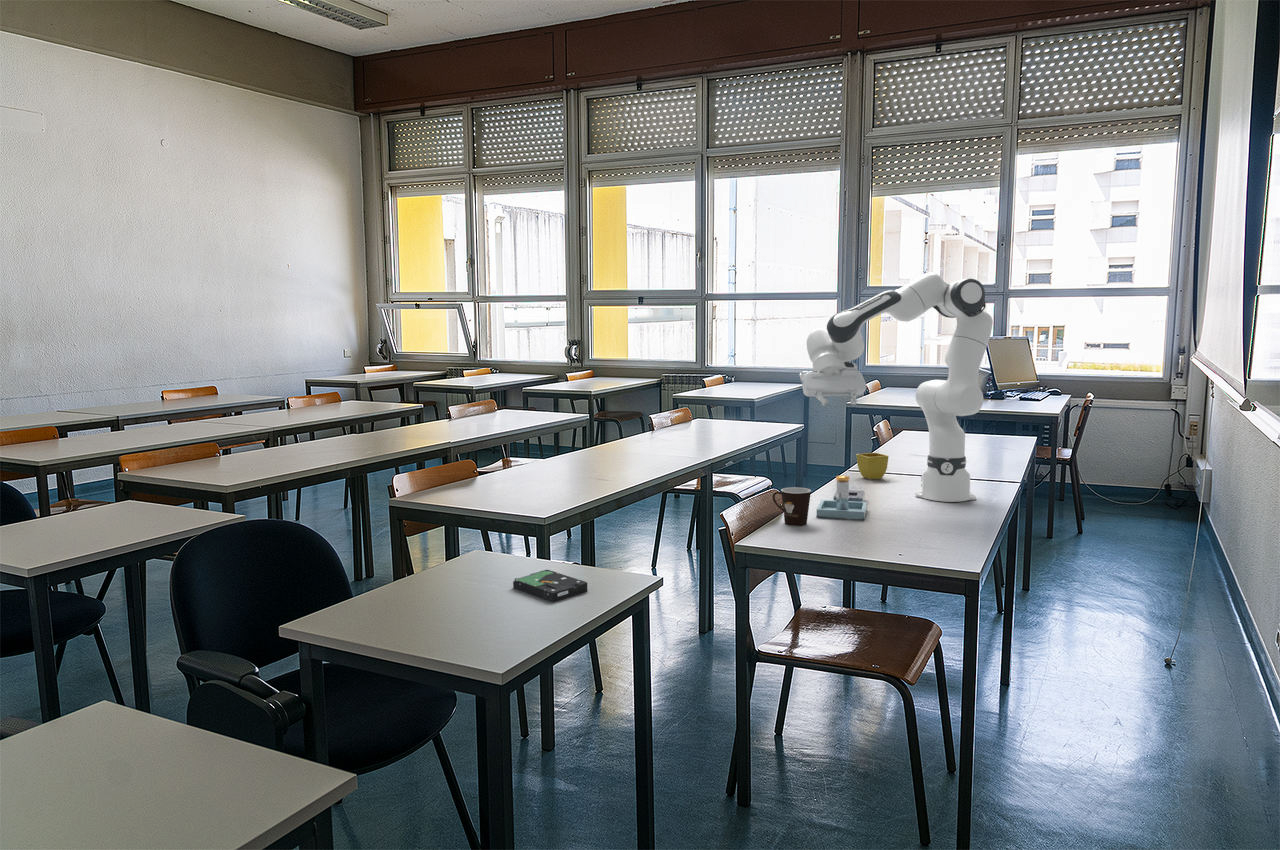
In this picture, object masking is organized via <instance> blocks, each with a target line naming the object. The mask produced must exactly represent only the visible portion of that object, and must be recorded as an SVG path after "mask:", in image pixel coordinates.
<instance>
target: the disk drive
mask: <svg viewBox="0 0 1280 850" xmlns="http://www.w3.org/2000/svg"><path fill="white" fill-rule="evenodd" d="M512 585H513V586H512V587H513V588H512V589H516V590H517V591H520V592H523V593H526V594H529V595H532V596H535V597H537V598H540V599H543V600H545V601H548V602H551V603H555V602H558V601H562V600H565V599H569V598H571V597H574V596H578V595H581V594H584V593H587V592H589V591H588V590H589V589H588V587H589V586H588V581H584V580H583V579H578V578H575V577H572V576H569V575H565V574H563V573H560V572H556V571H553V570H551V569H544V570H541V571H537V572H533V573H529V575H528V574H527V575H525V576H522V577H518V578H517V577H515V578H514V580H513V581H512Z"/></svg>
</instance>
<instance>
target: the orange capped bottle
mask: <svg viewBox="0 0 1280 850" xmlns="http://www.w3.org/2000/svg"><path fill="white" fill-rule="evenodd" d="M835 480H836V491H837V499H836V510H848V499H849V490H850V488H849V486H850V485H849V484H850V476H849V475H836V476H835Z"/></svg>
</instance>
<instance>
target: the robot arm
mask: <svg viewBox="0 0 1280 850" xmlns="http://www.w3.org/2000/svg"><path fill="white" fill-rule="evenodd" d="M986 305H987V304H986V291H985V287H984V286H983V284H982V282H980V281H979V280H977V279H975V278H971V277H970V278H969V277H967V278H966V277H965V278H961V279H958V280H956V281H953V282H951V283H947V282H945V280H944V279H943V278H942V277H941V276H940V275H939V274H937V273H936V272H927V273H925V274H922V275H920V276H918V277H916V278H914V279H912V280H911V281H909V282H907V283H906V284H904V285H903V286H901V287H899V288H897V289H895V290H893V289H890V290H885V291H882V292H881V293H878V294H876V295H875V296H872V297H871V298H869V299H867V300H865V301H863V302H861V303H859V304H857V305H855V306H853V307H851V308H849V309H845V310H842V311H839V312H838V313H837V312H836V313H835V314H834V315H832V317H830V318H829V320H828V321H827V323H826V328H821V327H820V328H816V329H814V330H813V331H811V332H810V333H809V335H808V336H807V339H806V349H807V354H808V358H809V360H810V361H811V362H812V368H813V370H809V371H807V370H805V371H802V372H800V373H799V375H798V377H799V380H800V382H801V384H802V385H801V386H802V391H803V392H802V393H803V395H804V396H805V397H815V398H816V399H817V400H818V401H820V402H821V406H824V407H826V406H828V404H829V399H828V398H827V397H831V396H832V397H833V396H836V397H837V396H850V400H849V403H850V405H851V406H852V405H857V403H858V400H857V396H862V395H864V393H865V391H866V389H867V382H866V381H865V379H864V375H862V373H861V372H860V370H857V369H858V365H857V363H854V362H853V361H855V360H858V359H859V358H860V357H862V355H863V354H864V352H865V348H866V347H865V343H864V338H863V335H862V331H861V329H862V326H863V325H864V324H866V323H867V322H869V321H871V320H872V319H875V317H879V316H880V315H882V314H885V313H888V314H889V315H890V316H891V317H892V318H893V319H895V320H897V321H900V322H904V323H907V322H911V321H912V320H915V319H917V318H918V317H920V316H921V315H923V314H924V313H926V312H927V311H929V309H932V308H933V309H934V310H936V311H937V313H939V315H941V316H943V317H944V318H950V319H953V318H954V319H955V318H956V325H955V326H956V328H955V331H954V333H953V335H952V338H951V341H950V343H949V346H948V347H947V351H946V354H945V356H944V361H945V364H946V366H947V367H948V376H947V379H932V380H927V381H924V382H922V383H920V384H919V385H918V387H917V388H916V391H915V401H916V404H917V405H918V406H919V407H920V409H921V410H922V412H923V414H924V417H925V420H926V423H927V428H928V429H927V430H928V434H929V435H928V437H929V438H928V439H929V441H928V446H929V447H928V449H929V451H928V455H927V458H926V459H927V460H926V462H927V464H926V466H927V468H925V470H924V471H923V472H922V474H921V477H920V478H921V480H920V481H921V482H922V483H921V484H920V487H921V488H920V489H919V490H918V491H917V492H916V493H915V497H917V498H923V499H926V500H929V501H935V502H944V503H945V502H946V503H955V502H957V503H958V502H966V501H971V500H972V501H973V500H976V499H977V496H976V495H975V494H974V493H973V492H971V474H970V473H969V472H968V471H967V469H966V466H967V457H966V455H965V454H966V453H965V452H966V432H965V431H964V429H963V427H961V426H960V424H959V421H958V419H957V417H966V416H972V415H976V414H977V413H978V412H979V411H980V410H981V409H982V408H983V404H984V393H983V391H982V390H981V388H980V385H979V372H980V371H979V370H980V367H981V364H982V361H983V358H984V355H985V353H986V350H987V348H988V344H989V341H990V338H991V334H992V331H993V330H992V329H993V322H994V321H993V320H994V319H993V317H992V316H991V315H990V314H989V313H988V312H987V311H985V309H986Z"/></svg>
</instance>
